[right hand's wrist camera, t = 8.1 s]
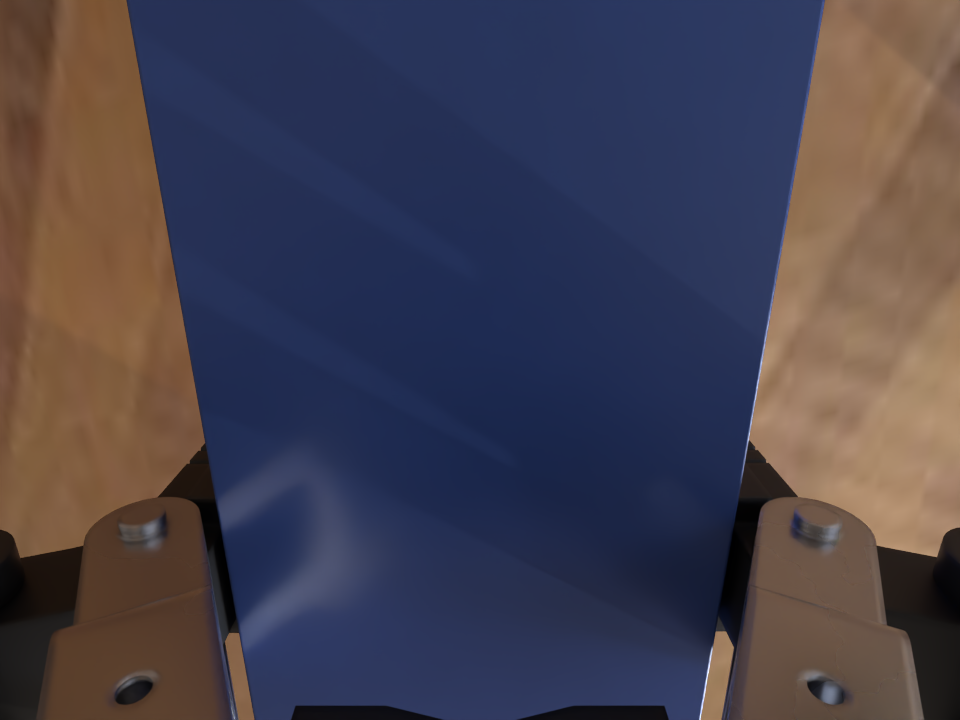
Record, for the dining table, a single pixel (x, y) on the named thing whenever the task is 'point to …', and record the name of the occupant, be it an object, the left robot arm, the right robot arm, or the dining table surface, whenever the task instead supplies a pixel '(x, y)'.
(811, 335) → the dining table surface
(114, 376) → the dining table surface
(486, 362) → the box
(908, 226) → the dining table surface
